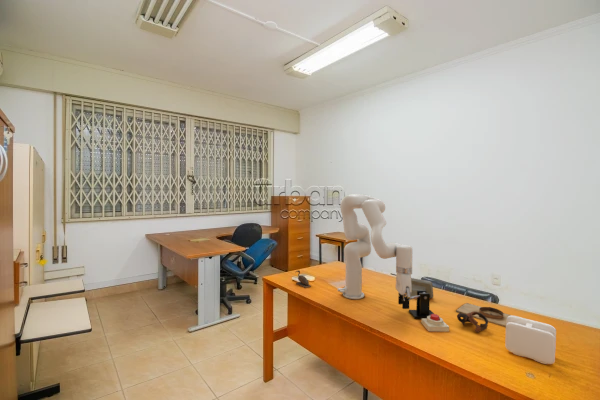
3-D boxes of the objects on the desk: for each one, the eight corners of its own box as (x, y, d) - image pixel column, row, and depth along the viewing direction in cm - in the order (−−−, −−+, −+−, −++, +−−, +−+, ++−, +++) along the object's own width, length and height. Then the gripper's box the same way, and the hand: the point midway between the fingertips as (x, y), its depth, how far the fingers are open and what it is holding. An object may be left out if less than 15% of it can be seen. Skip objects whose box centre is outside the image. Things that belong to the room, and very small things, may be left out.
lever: (404, 304, 137) (403, 299, 137) (400, 300, 142) (399, 296, 142) (428, 299, 137) (427, 294, 137) (424, 295, 142) (423, 290, 142)
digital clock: (435, 298, 162) (435, 280, 162) (427, 302, 156) (427, 283, 156) (408, 291, 174) (409, 274, 174) (401, 294, 169) (401, 276, 168)
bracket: (414, 319, 136) (415, 294, 136) (408, 311, 144) (409, 289, 144) (437, 319, 136) (438, 295, 135) (430, 312, 144) (430, 289, 143)
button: (432, 321, 126) (432, 317, 126) (429, 317, 129) (429, 313, 129) (440, 321, 126) (440, 317, 126) (437, 317, 129) (437, 313, 129)
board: (523, 319, 135) (523, 313, 135) (515, 330, 125) (516, 322, 125) (466, 304, 154) (466, 298, 154) (455, 312, 144) (455, 305, 144)
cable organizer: (502, 351, 109) (503, 321, 108) (507, 340, 116) (507, 313, 116) (554, 368, 98) (555, 335, 98) (556, 355, 106) (557, 325, 105)
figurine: (292, 282, 190) (292, 269, 190) (297, 281, 193) (297, 268, 193) (305, 288, 179) (305, 274, 179) (310, 286, 182) (311, 273, 182)
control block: (428, 331, 124) (428, 322, 124) (421, 322, 132) (421, 314, 132) (449, 331, 124) (449, 322, 124) (440, 323, 132) (440, 314, 132)
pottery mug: (478, 323, 132) (487, 312, 128) (483, 341, 124) (493, 330, 120) (452, 315, 134) (459, 303, 130) (455, 332, 126) (463, 320, 122)
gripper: (391, 265, 148) (391, 299, 148) (402, 274, 131) (401, 313, 131) (405, 265, 148) (405, 299, 148) (418, 275, 131) (418, 313, 131)
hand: (403, 305), depth 140 cm, fingers closed on lever, 5 cm apart
